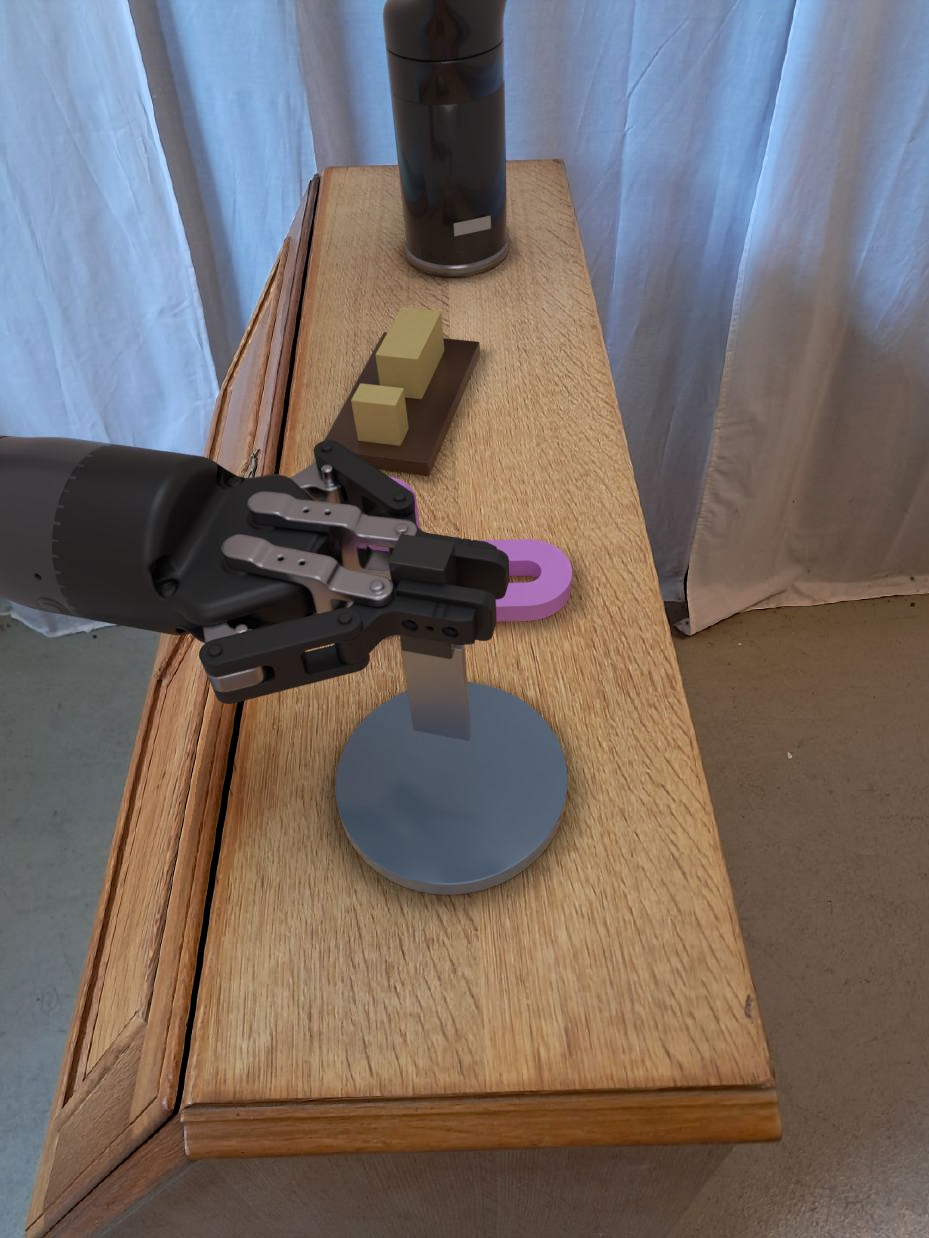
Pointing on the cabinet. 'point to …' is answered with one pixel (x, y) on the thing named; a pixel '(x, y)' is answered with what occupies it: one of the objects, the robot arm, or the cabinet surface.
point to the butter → (411, 351)
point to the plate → (452, 794)
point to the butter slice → (380, 414)
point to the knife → (432, 645)
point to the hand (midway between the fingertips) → (499, 595)
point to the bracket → (527, 561)
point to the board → (413, 412)
